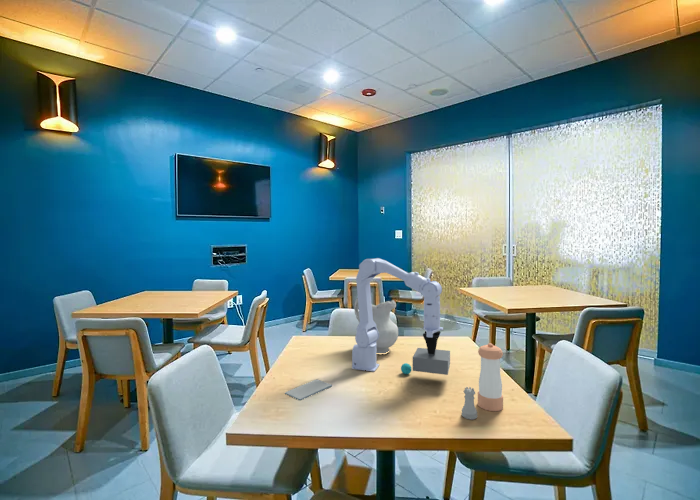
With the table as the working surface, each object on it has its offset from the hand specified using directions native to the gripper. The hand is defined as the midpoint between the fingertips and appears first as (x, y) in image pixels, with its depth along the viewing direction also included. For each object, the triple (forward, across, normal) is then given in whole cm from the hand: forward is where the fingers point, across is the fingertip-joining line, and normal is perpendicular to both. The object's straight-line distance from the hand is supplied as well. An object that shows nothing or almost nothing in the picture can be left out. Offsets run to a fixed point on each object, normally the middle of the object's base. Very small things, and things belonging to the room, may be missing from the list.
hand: (431, 352), depth 127 cm
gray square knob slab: (+5, 0, 0) cm, 5 cm away
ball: (+8, +4, +10) cm, 14 cm away
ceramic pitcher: (+11, +28, +29) cm, 42 cm away
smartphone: (+11, -22, +39) cm, 46 cm away
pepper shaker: (+10, -14, -19) cm, 26 cm away
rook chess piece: (+11, -23, -13) cm, 29 cm away
